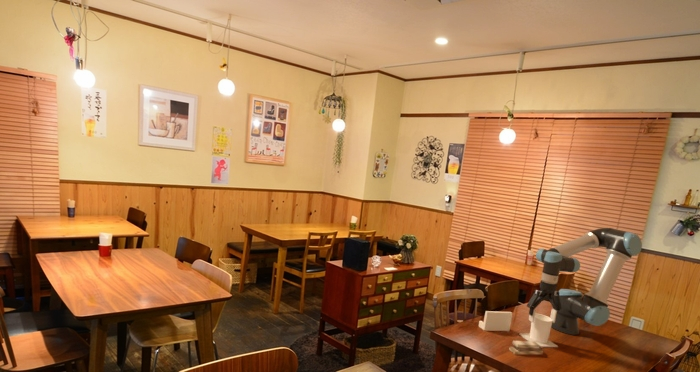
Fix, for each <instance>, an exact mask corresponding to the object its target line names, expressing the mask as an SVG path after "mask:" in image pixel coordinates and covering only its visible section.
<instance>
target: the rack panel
mask: <svg viewBox="0 0 700 372" xmlns="http://www.w3.org/2000/svg"><path fill="white" fill-rule="evenodd" d="M512 319H513V312H511V311H497V310H495V311H491V310H490V311H489V310H485V313H484V318H483V320H479V322H478V327H479V328H480V329H482V330H483V331H484V332H485V331H488V332H490V331H492V332H493V331H494V332H496V331H497V332H500V331H501V332H502V331H503V332H510V329H511V324H512Z"/></svg>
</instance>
